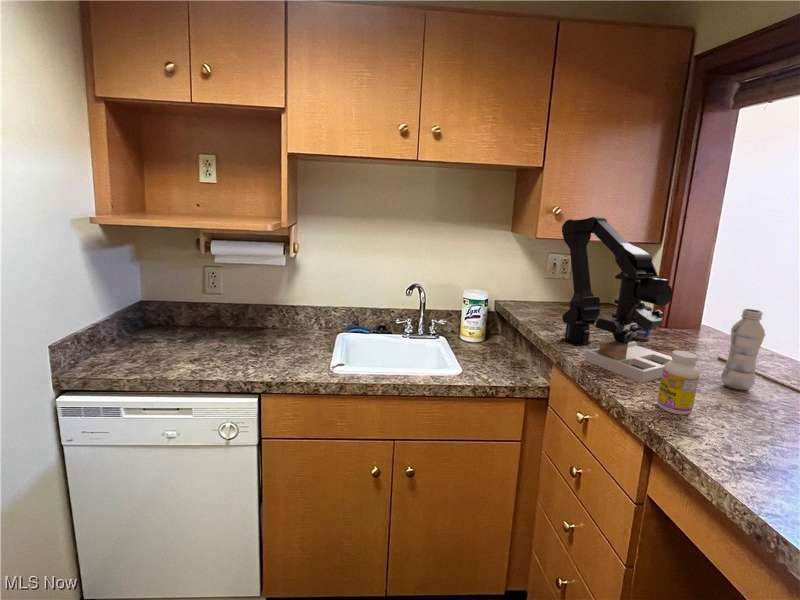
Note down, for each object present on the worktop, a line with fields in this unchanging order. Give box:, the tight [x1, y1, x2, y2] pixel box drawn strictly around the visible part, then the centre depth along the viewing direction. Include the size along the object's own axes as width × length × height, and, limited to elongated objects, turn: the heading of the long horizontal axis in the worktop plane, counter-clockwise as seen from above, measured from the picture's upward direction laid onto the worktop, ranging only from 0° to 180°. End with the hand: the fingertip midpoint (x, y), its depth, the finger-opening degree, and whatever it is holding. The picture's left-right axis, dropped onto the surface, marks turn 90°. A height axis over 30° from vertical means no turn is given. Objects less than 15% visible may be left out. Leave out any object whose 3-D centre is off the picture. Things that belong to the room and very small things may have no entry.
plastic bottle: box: [720, 308, 766, 391], centre depth 109 cm, size 6×7×20 cm
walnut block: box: [598, 339, 628, 361], centre depth 123 cm, size 5×5×4 cm
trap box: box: [584, 340, 672, 384], centre depth 124 cm, size 17×22×3 cm
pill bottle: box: [630, 305, 653, 342], centre depth 148 cm, size 6×6×11 cm
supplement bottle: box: [656, 349, 701, 416], centre depth 97 cm, size 7×7×13 cm
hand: (621, 351), depth 126 cm, fingers closed
